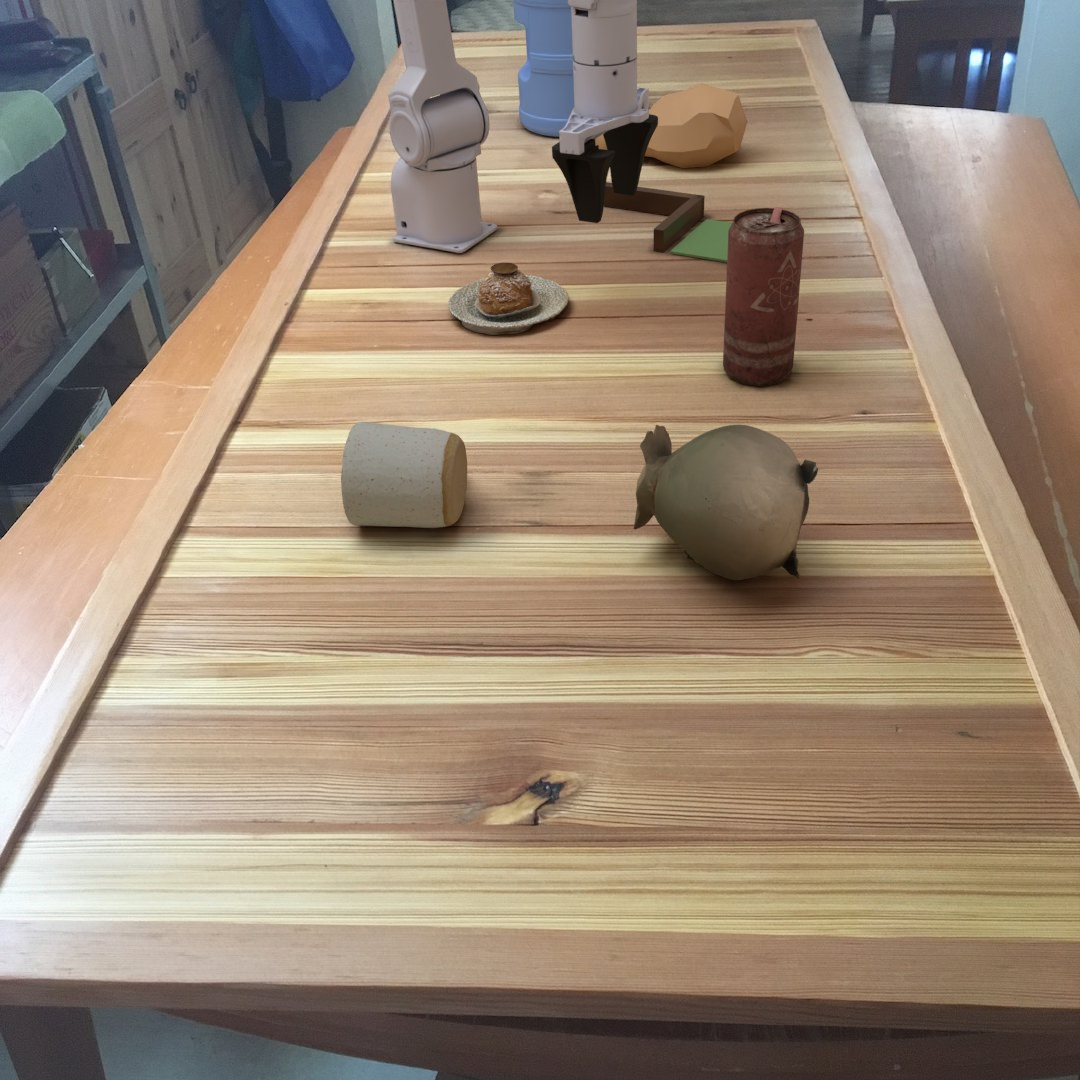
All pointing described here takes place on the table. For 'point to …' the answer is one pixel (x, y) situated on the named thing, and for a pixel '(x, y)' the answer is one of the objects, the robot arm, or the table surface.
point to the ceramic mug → (403, 476)
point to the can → (762, 295)
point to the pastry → (507, 301)
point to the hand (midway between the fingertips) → (607, 206)
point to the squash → (695, 127)
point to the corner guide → (661, 211)
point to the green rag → (706, 242)
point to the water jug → (546, 65)
